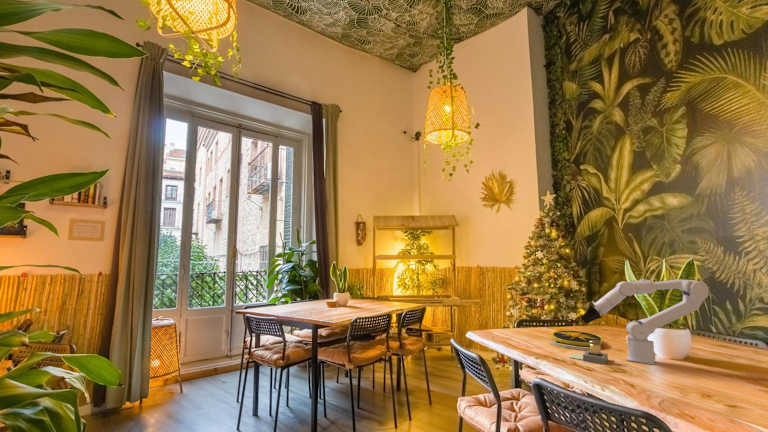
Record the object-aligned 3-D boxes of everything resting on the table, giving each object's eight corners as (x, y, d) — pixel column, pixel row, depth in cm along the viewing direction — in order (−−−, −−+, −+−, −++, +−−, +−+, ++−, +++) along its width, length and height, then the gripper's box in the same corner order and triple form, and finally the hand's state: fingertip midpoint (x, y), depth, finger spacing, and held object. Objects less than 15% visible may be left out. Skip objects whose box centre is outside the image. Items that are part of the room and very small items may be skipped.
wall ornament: (609, 329, 197) (593, 344, 175) (610, 340, 197) (594, 356, 175) (562, 323, 213) (542, 335, 190) (562, 333, 213) (542, 346, 190)
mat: (585, 356, 170) (585, 355, 170) (582, 360, 164) (582, 359, 164) (572, 354, 173) (572, 353, 173) (569, 358, 167) (569, 357, 167)
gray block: (607, 359, 165) (607, 353, 166) (604, 364, 158) (604, 358, 158) (587, 356, 170) (586, 350, 170) (583, 361, 163) (582, 354, 163)
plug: (602, 360, 165) (601, 340, 165) (600, 362, 161) (599, 342, 162) (590, 358, 167) (590, 339, 168) (588, 360, 164) (588, 341, 164)
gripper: (601, 297, 178) (578, 315, 180) (600, 292, 166) (574, 312, 169) (614, 309, 174) (590, 328, 176) (613, 305, 162) (587, 325, 165)
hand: (583, 321), depth 172 cm, fingers open, 7 cm apart
